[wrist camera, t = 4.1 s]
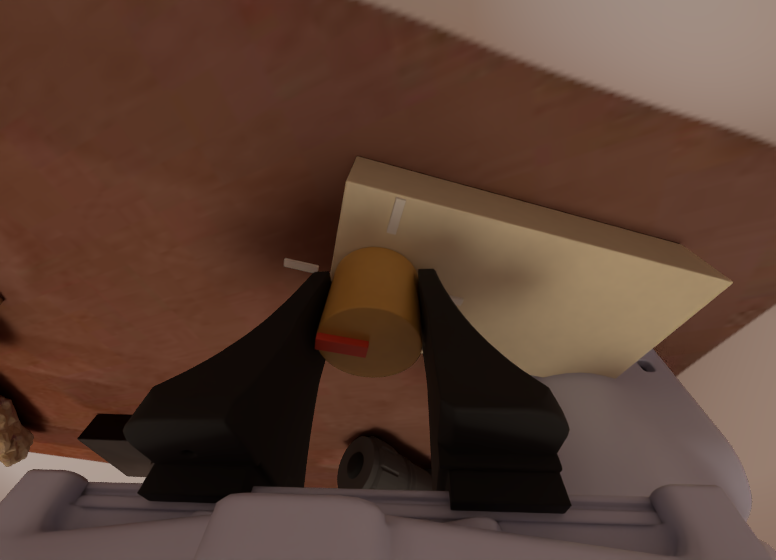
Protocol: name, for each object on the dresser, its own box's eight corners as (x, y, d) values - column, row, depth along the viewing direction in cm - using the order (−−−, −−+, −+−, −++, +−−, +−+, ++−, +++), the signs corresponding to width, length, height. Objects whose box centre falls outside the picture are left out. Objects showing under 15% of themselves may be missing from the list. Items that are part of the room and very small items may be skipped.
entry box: (233, 412, 26) (209, 462, 23) (261, 458, 32) (245, 503, 29) (89, 407, 27) (47, 455, 24) (141, 453, 32) (113, 497, 29)
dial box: (681, 244, 15) (738, 285, 12) (578, 348, 20) (604, 392, 17) (311, 143, 13) (288, 167, 10) (298, 287, 17) (280, 328, 15)
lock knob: (429, 256, 12) (437, 325, 9) (406, 318, 14) (407, 392, 11) (339, 237, 12) (317, 303, 9) (330, 304, 14) (310, 376, 11)
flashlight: (336, 441, 29) (324, 510, 25) (376, 422, 26) (370, 495, 22) (439, 490, 35) (443, 552, 31) (478, 479, 33) (489, 544, 28)
